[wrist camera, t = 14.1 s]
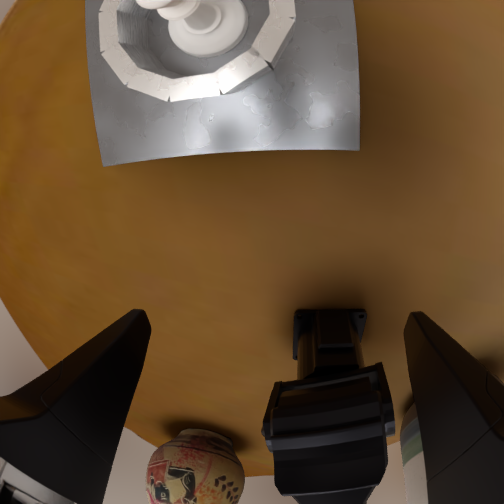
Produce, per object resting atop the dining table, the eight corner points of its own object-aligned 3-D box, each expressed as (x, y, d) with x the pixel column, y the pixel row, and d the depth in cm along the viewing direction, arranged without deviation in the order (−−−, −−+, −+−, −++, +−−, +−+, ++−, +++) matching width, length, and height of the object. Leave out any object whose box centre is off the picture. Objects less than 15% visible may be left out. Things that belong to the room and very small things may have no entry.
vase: (496, 338, 26) (555, 507, 5) (497, 390, 32) (529, 512, 11) (379, 397, 32) (393, 573, 12) (409, 433, 38) (421, 557, 18)
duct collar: (356, 147, 18) (376, 166, 14) (109, 163, 21) (72, 184, 16) (335, -80, 9) (345, -113, 5) (93, -38, 12) (56, -52, 7)
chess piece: (171, -5, 13) (81, -54, 5) (249, -13, 13) (210, -92, 4) (170, 61, 16) (71, 51, 7) (248, 56, 15) (205, 22, 7)
